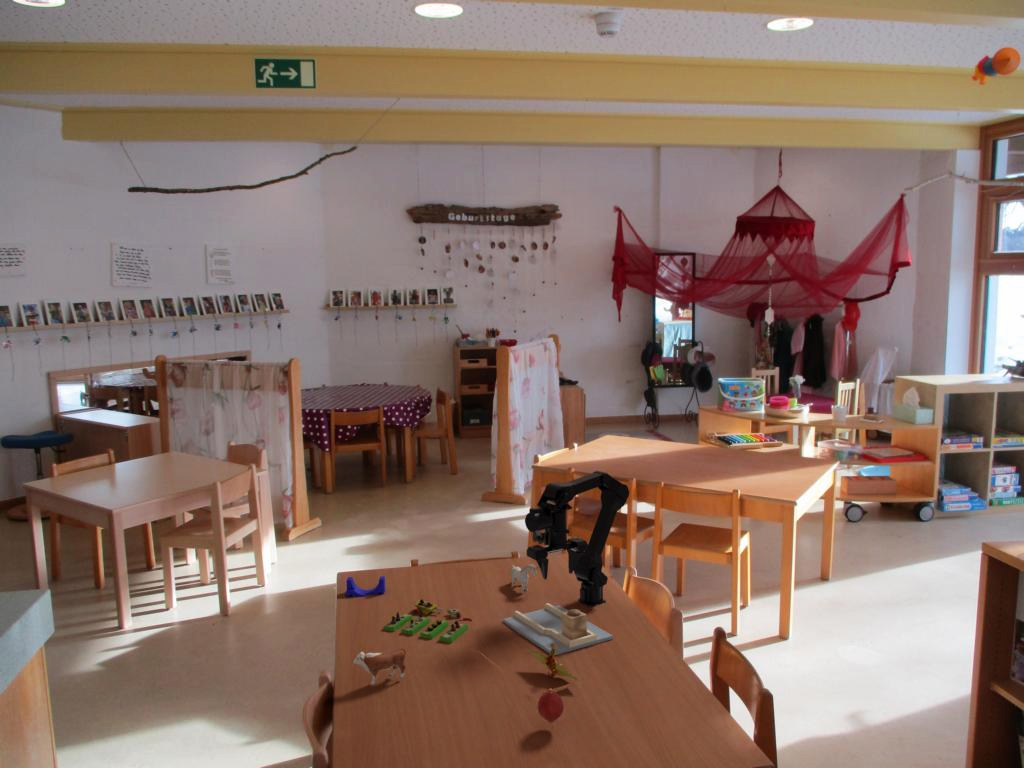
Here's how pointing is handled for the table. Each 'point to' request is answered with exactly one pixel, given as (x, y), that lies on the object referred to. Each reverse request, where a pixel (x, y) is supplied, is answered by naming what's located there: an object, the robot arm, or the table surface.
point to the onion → (550, 706)
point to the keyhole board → (553, 630)
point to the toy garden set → (421, 622)
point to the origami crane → (552, 662)
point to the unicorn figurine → (522, 575)
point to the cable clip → (359, 592)
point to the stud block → (574, 624)
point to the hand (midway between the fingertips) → (557, 576)
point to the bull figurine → (382, 662)
